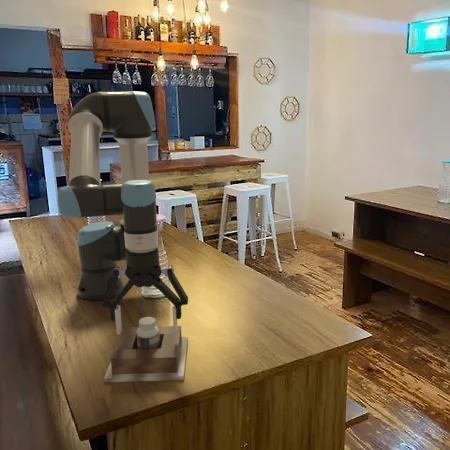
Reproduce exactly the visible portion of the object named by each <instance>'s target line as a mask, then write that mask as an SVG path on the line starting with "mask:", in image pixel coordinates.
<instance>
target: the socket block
mask: <svg viewBox="0 0 450 450" xmlns="http://www.w3.org/2000/svg"><path fill="white" fill-rule="evenodd" d="M157 327H158V329H159V338H160V349H138V344H137V330H138V328H139V326H131V327H130V326H128V327H127V326H126V327H123V326H122V331H121V333H120V335H119V338H118V340H117V343H116V345H115V346H114V350H113V352H112V355H111V357H110V362H109V365H108V368H107V369H106V373H105V375H104V377H103V381H104V383H126V382H127V383H128V382H133V383H134V382H161V381H167V382H168V381H184V380H185V369H186V361H187V353H186V352H187V350H188V341H189V337H188V336H182V335H183V334H182V325H178V328H177V333H174V331H173V325H171V326H170V325H166V326H164V325H163V326H160V325H159V326H157Z"/></svg>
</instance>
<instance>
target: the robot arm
mask: <svg viewBox="0 0 450 450" xmlns="http://www.w3.org/2000/svg"><path fill="white" fill-rule="evenodd" d="M67 121H68V123H67V127H68V131H69V133H70V137H71V138H70V151H69V152H70V154H69V169H68V172H69V173H68V185H66V186H61V187H59V189H58V191H57V204H58V205H57V206H58V210H59V213H60V214H59V215H60V216H61V217H63V218H65V219H66V218H67V219H68V218H70V219H71V218H72V219H73V218H74V219H76V218H78V219H81V218H90V217H104V216H120V215H122V219H120V221H119V223H120V225H118V226H117V225H116V226H115V224H114V222H112V221H107V220H106V221H104V220H103V221H98V222H97V221H96V222H94V223H90V224H89V223H88V225H87V224H86V225H84V226H83V227H81V228H80V229H79V230H78V232H77V246H78V253H79V264H80V275H79V280H78V285H77V295H78V297H79V299H80V298H81V299H82V300H87V301H102V303H101V306H102V307H103V308H108V309H109V310H110V319H111V321H112V322H113V321H114V322H115V331H116V335H117V336H120V335H121V332H122V330H123V325H122V324H123V323H122V315H121V314H122V313H121V312H122V311H121V304H119V303H120V302H121V301H122V300H123V298H124V297H126V295H127V294H128V293H129V291H130V290H131V289H132V288H133V287H134V286H135V287H137V288H143V287H145V288H151V287H152V286H153V287H154V288H155V289H157V290H159V291H160V293H162V295H163V296H164V297H165V298H167V300H168V301H169V302H170V303H171V304H172V326H173V331H174V333H177V328H178V326H179V324H178V320H181V319H182V306H184V305H185V306H187V305H188V304H189V297H188V295H187V293H186V291H185V290H184V288H183V286H182V285H181V283H180V281H179V280H178V278H177V276H176V275H175V271H174V270H175V268H174V266H173V265H172V264H171V265H168V267H167V266H166V267H161V265H160V251H159V249H158V248H157V246H158V229H157V223H158V222H157V221H158V220H157V194H156V188H155V187H156V186H155V183H154V182H153V181H151V180H150V174H149V172H150V171H149V154H148V141H150V139H151V138H152V132H154V131H156V130H157V126H156V118H155V113H154V108H153V103H152V99H151V96H150V94H149V93H147V92H145V91H135V90H131V91H97V92H91V93H90V94H88V95H85V97H83V98H81V99H80V100H79V101H78V102H77V103H76V104H75V105H74V107H73V108H72V110H71V111H70V114H69V116H68V120H67ZM103 132H104V133H105V132H106V133H107V132H109V133H111V132H112V133H113V139H114V140H115V141H117V142H118V147H119V161H120V172H121V173H120V174H121V183H113V184H112V183H109V184H101V150H100V149H101V148H100V147H101V146H100V142H101V141H100V139H101V138H100V137H101V135H102V134H103ZM123 261H125V262H126V268H121V267H120V266H118V264H117V262H123ZM162 274H163V275H164V276H165V277H166V278H168V281H169V283H170V284H171V285H172V287H173V289H174V291H175V292H176V293H175V292H174V291H172V289H171V288H170V287H169V286H168V285H167V284H166V283H165V282H164V281H163V280H162V278H161V275H162ZM124 275H125V277H127V279H128V281H127V282H126V283H124V280H123V276H124ZM111 299H113V300H111Z"/></svg>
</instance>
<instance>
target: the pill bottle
mask: <svg viewBox="0 0 450 450" xmlns="http://www.w3.org/2000/svg"><path fill="white" fill-rule="evenodd" d="M156 323H157V322H156V319H155V317H151V316H145V317H141V318H140V319H138V327H139V328H138V330H137V344H138V349H160V338H159V329H158V327H159V326H157V324H156Z"/></svg>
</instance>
